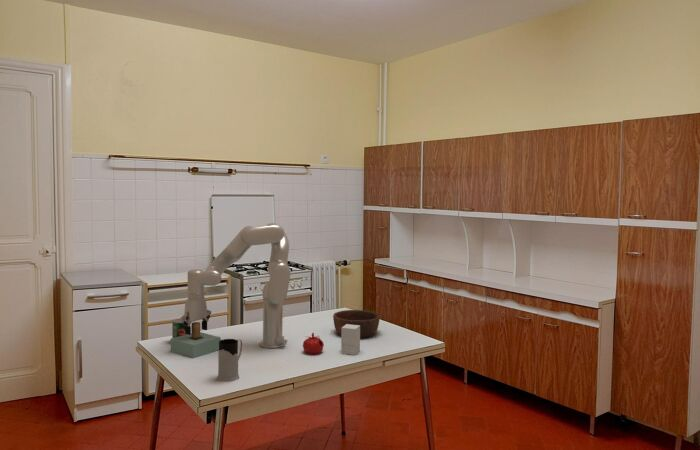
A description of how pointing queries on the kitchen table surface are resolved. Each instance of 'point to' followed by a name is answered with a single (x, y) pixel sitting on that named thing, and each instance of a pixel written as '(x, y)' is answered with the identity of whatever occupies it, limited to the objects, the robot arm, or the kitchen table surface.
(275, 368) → the kitchen table surface
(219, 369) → the grey pitcher
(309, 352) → the pomegranate
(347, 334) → the supplement box
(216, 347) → the socket block
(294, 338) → the kitchen table surface
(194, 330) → the walnut peg
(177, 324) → the canned tomato
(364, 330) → the wooden bowl
